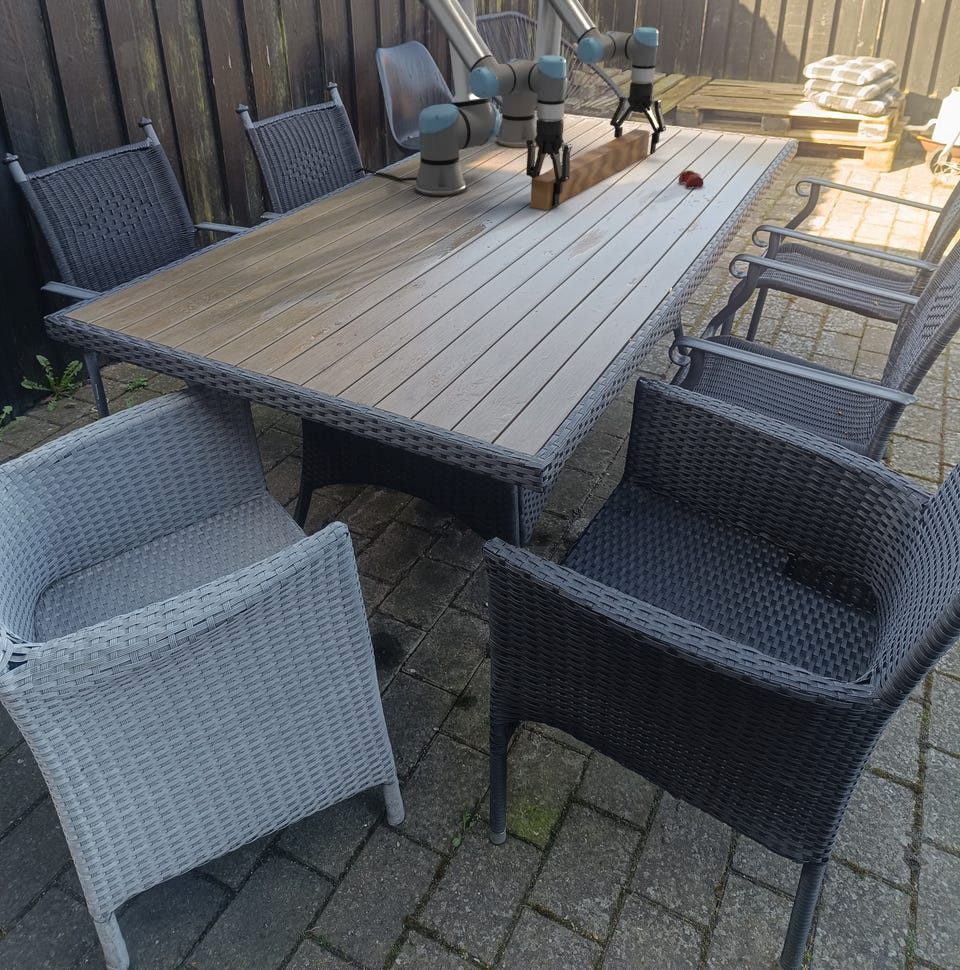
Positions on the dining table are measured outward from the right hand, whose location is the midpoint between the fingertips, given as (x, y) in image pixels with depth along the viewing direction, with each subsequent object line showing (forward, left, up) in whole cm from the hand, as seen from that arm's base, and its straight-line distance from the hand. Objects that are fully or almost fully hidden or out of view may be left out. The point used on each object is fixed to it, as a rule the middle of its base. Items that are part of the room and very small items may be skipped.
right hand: (635, 150), depth 288 cm
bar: (-3, -31, -2) cm, 31 cm away
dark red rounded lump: (+26, -24, -2) cm, 35 cm away
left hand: (-7, -62, -2) cm, 62 cm away
